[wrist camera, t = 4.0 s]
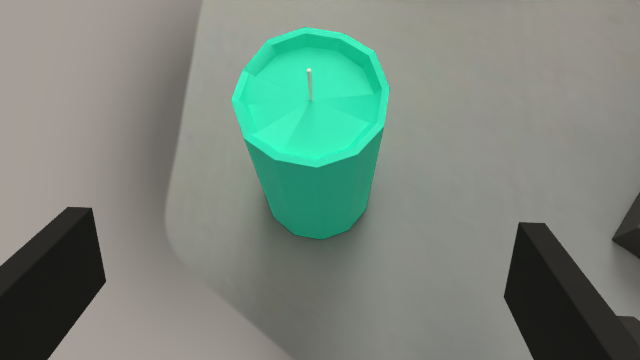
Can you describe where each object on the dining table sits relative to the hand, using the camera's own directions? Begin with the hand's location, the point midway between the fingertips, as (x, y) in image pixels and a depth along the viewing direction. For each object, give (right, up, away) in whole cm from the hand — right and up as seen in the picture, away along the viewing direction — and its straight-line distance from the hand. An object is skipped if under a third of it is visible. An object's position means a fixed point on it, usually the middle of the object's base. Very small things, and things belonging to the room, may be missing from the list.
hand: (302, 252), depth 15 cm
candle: (0, +2, +13) cm, 13 cm away
